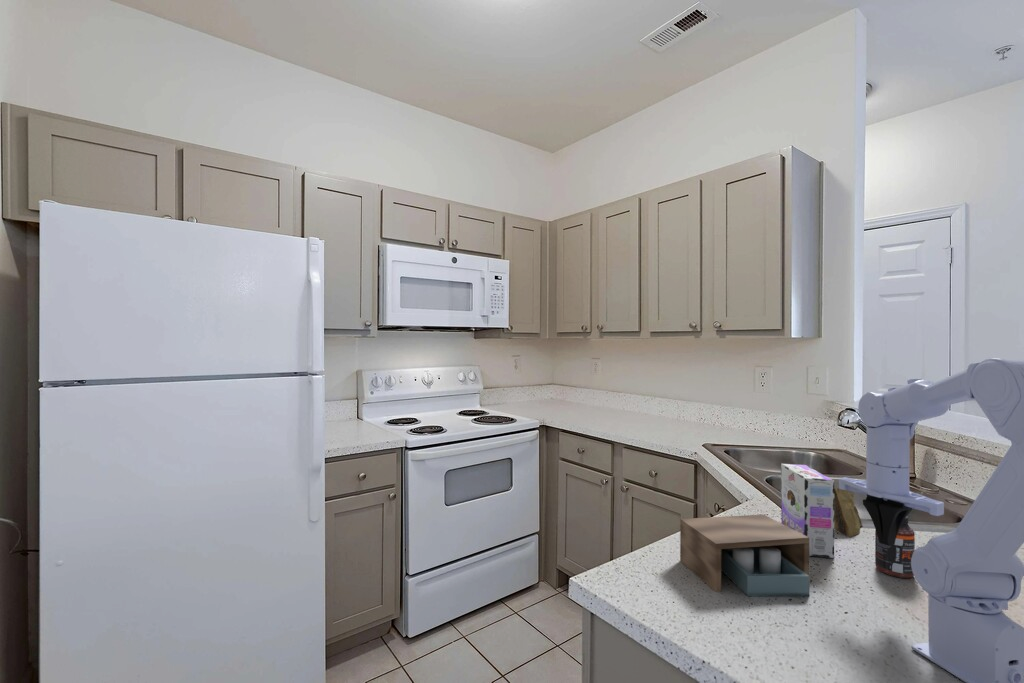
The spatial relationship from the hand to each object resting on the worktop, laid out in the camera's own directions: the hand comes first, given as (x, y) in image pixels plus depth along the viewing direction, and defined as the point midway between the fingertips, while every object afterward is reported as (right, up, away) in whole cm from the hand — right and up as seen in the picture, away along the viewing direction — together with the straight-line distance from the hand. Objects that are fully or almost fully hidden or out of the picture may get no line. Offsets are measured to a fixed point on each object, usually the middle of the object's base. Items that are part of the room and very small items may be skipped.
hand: (886, 543), depth 78 cm
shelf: (-19, -10, +11) cm, 24 cm away
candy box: (+2, -11, +24) cm, 27 cm away
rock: (+19, -12, +33) cm, 40 cm away
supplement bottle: (+11, -11, +12) cm, 19 cm away
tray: (-17, -10, +8) cm, 22 cm away
